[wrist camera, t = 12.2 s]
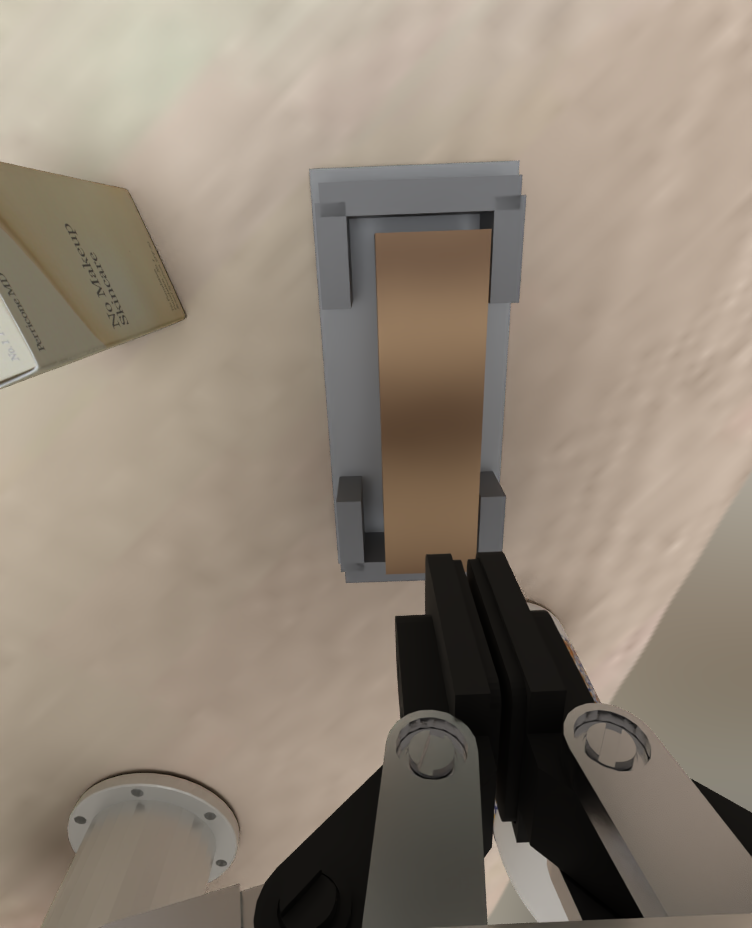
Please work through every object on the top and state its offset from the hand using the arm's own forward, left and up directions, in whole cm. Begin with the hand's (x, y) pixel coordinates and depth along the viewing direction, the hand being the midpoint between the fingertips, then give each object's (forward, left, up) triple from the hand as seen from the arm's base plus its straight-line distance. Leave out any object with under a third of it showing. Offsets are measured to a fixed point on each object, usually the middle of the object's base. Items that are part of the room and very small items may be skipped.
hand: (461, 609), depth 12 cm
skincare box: (+7, +14, -18) cm, 23 cm away
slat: (+1, 0, -16) cm, 16 cm away
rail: (0, 0, -17) cm, 17 cm away
